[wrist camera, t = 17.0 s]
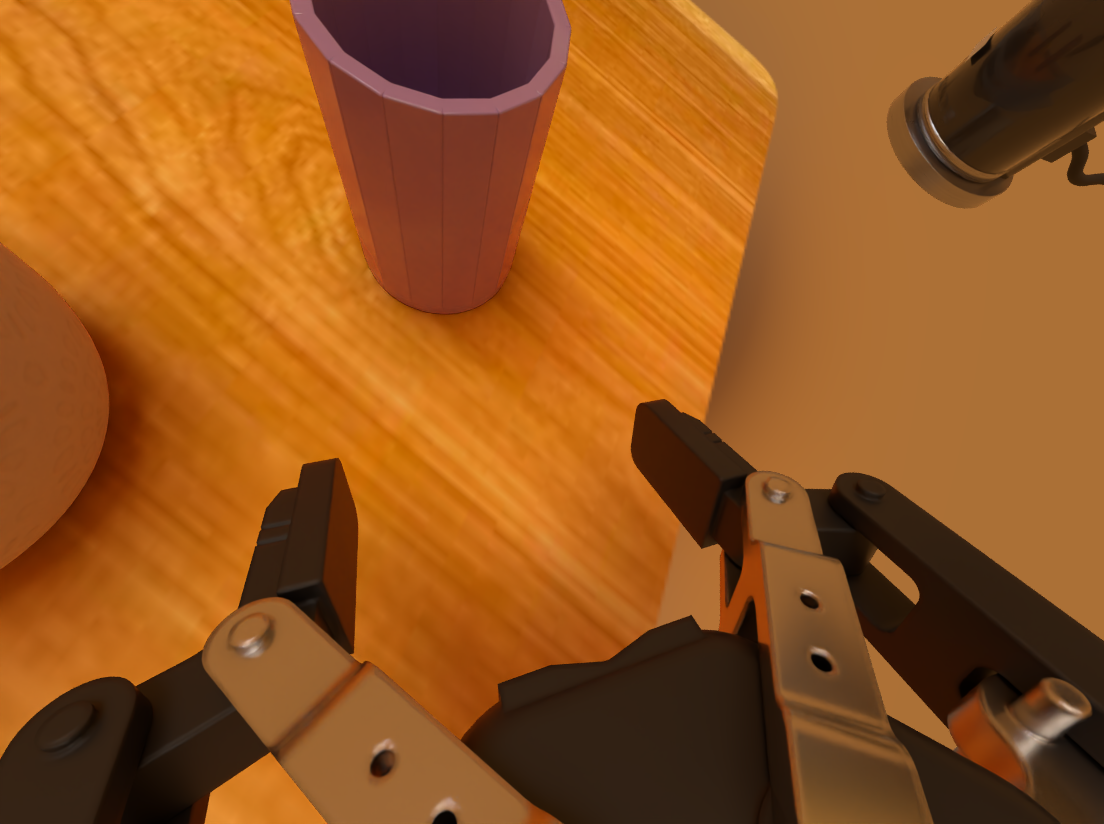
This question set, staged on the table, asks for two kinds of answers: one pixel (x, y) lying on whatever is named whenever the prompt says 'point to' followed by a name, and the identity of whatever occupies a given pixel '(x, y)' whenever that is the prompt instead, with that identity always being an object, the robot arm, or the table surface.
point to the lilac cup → (437, 131)
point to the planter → (43, 406)
